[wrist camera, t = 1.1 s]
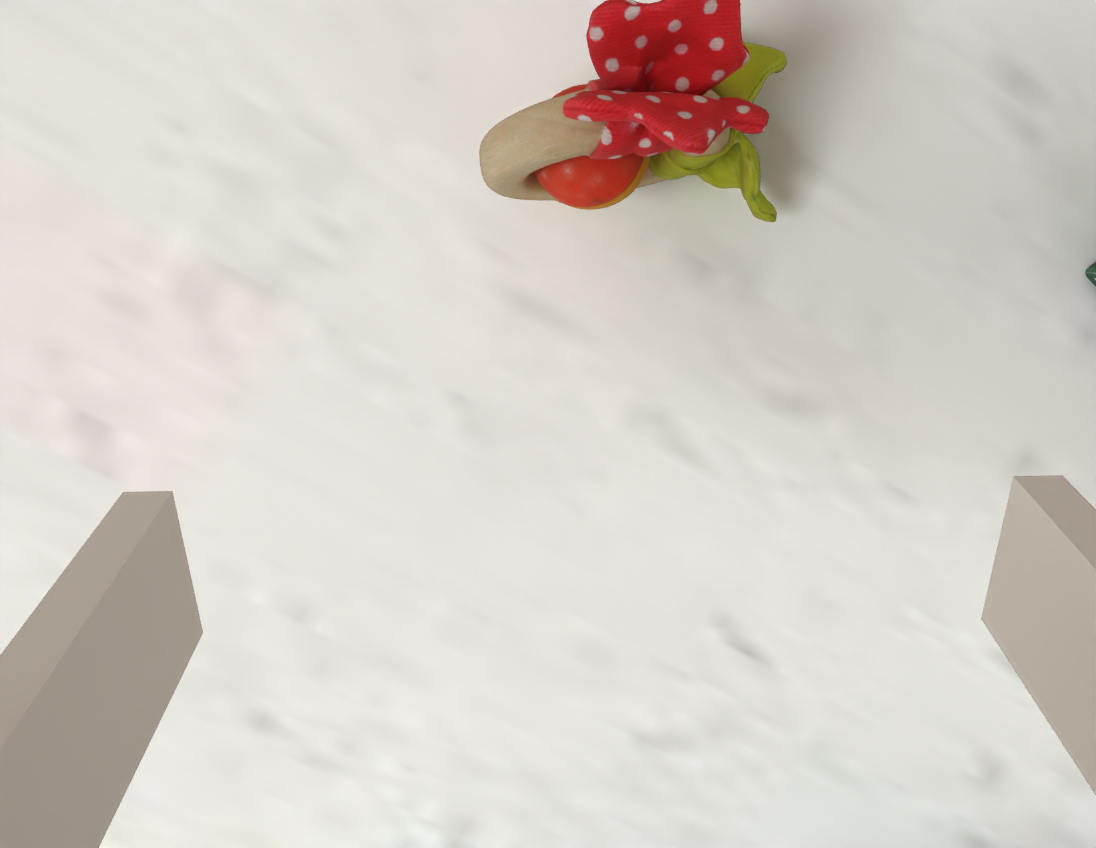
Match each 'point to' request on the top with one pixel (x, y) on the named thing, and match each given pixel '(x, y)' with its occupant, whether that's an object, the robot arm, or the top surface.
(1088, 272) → the coffee box
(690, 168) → the bird rattle
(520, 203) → the top surface
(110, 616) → the robot arm
